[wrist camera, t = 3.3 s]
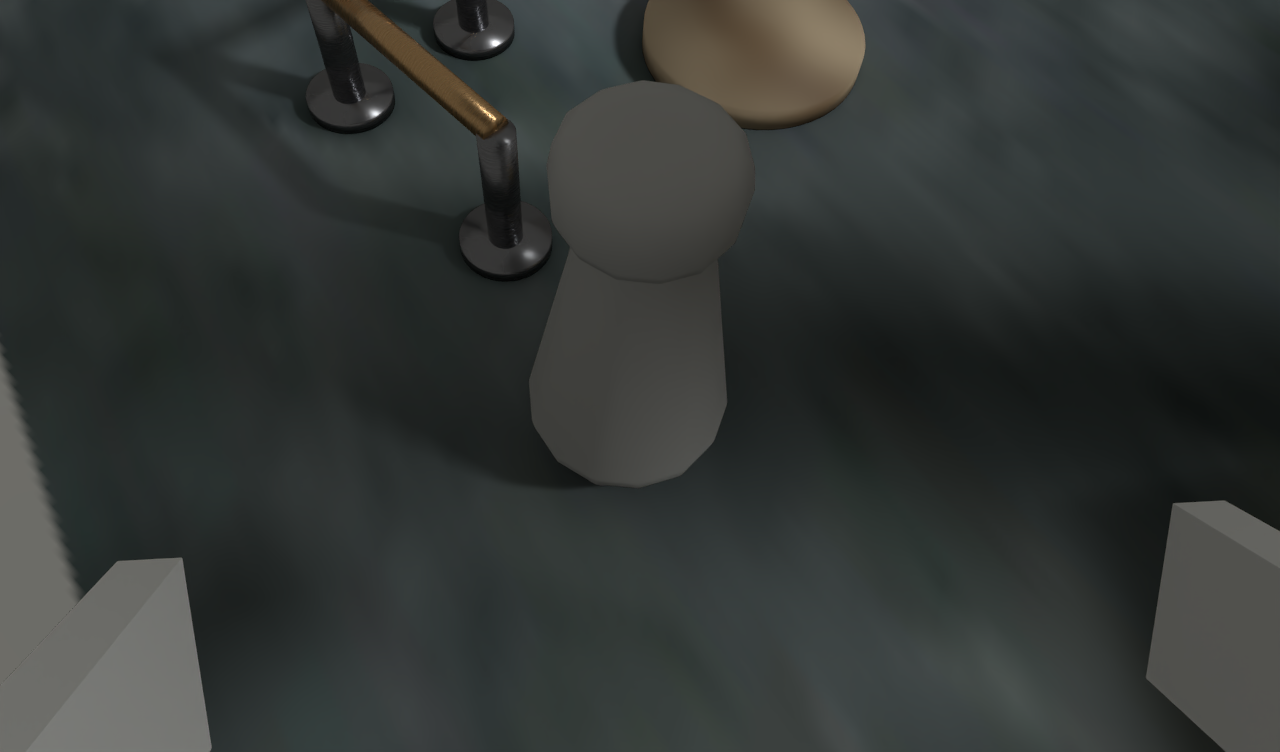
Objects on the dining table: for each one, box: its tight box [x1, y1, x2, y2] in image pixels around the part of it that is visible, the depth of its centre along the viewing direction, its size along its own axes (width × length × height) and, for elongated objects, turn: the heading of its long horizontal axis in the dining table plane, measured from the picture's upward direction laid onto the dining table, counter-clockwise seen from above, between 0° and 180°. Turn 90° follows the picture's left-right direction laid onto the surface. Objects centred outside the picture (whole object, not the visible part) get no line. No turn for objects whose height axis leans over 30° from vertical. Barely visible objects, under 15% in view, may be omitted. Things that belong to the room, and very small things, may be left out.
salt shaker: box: [529, 80, 755, 488], centre depth 24 cm, size 6×6×13 cm
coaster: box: [642, 0, 865, 130], centre depth 38 cm, size 9×9×1 cm
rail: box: [306, 0, 552, 281], centre depth 33 cm, size 9×12×6 cm
